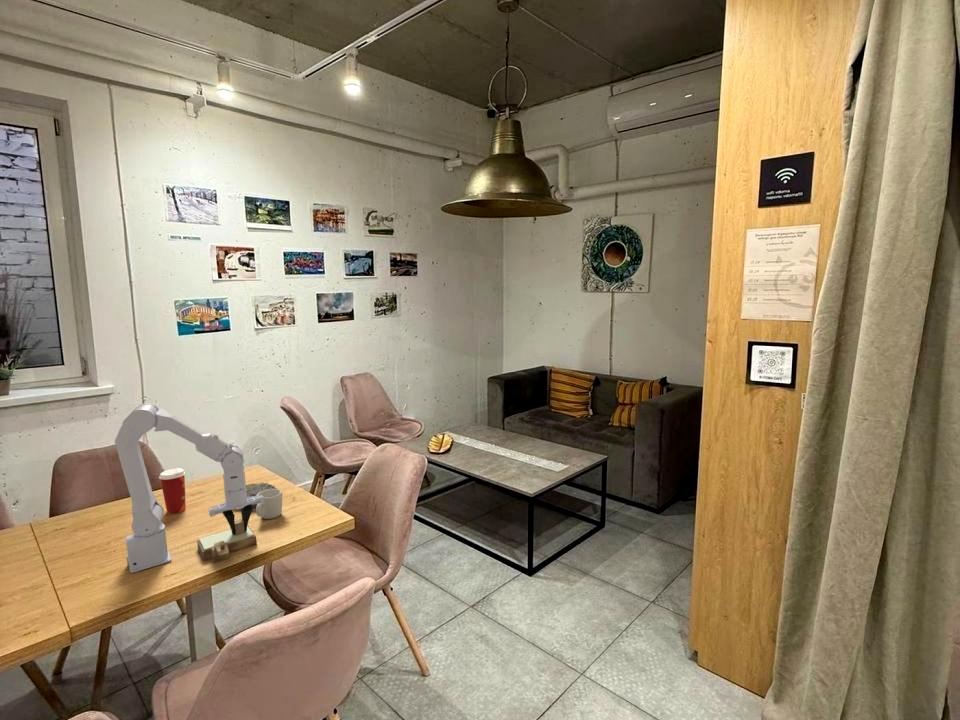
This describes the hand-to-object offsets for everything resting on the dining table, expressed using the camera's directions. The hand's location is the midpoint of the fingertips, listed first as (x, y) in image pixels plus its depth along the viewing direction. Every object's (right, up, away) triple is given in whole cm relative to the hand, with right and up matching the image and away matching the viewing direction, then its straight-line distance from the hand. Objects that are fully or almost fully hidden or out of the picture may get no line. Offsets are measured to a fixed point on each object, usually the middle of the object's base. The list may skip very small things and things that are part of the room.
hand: (239, 531), depth 148 cm
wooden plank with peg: (0, -1, -11) cm, 11 cm away
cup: (+2, -1, +17) cm, 17 cm away
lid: (-3, -1, -2) cm, 4 cm away
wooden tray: (-2, -4, -3) cm, 5 cm away
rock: (-9, 0, +30) cm, 31 cm away
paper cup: (-34, -1, +24) cm, 42 cm away
